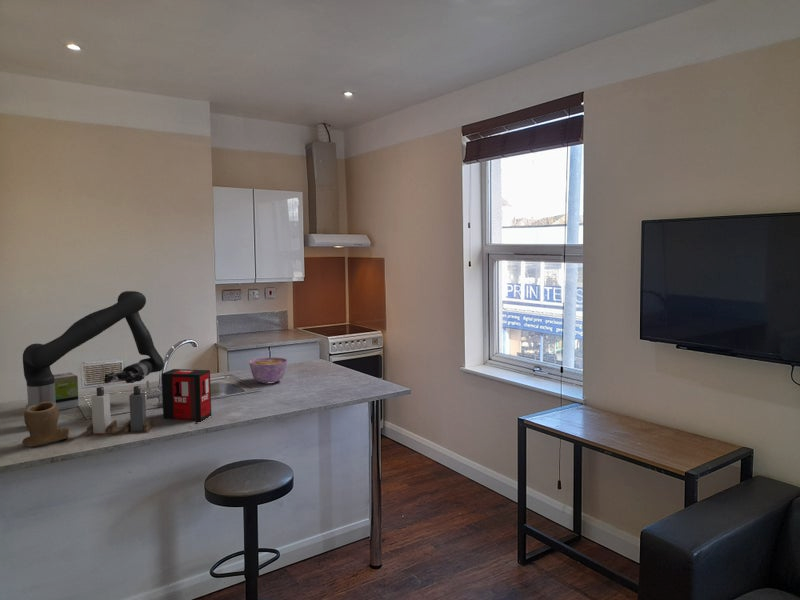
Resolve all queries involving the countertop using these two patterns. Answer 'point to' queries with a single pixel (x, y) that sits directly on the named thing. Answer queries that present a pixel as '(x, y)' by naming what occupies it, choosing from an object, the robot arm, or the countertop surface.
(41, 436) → the stone cup
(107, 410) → the white square bottle
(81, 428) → the countertop surface
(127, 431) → the comb rack
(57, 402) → the tea box
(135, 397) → the grey square bottle
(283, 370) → the bowl of food
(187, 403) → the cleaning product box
